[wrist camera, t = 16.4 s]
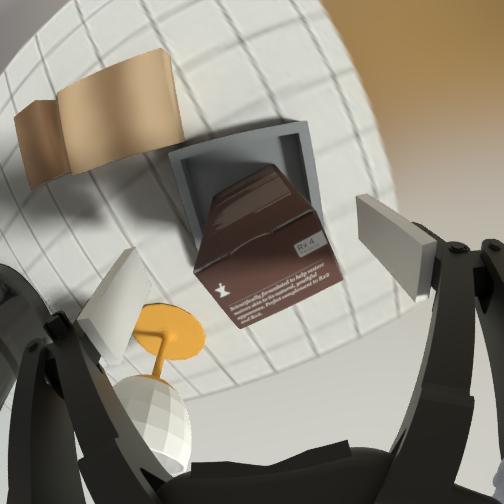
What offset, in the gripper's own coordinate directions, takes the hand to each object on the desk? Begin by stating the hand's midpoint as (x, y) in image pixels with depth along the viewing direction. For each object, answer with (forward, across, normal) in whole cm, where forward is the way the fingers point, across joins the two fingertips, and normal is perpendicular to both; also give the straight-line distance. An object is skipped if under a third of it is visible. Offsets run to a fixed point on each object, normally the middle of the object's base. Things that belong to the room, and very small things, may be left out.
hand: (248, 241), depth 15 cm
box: (+9, +1, 0) cm, 9 cm away
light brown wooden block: (+10, -8, +10) cm, 16 cm away
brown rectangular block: (+9, -15, +11) cm, 21 cm away
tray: (+9, +1, 0) cm, 9 cm away
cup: (+9, -12, -13) cm, 20 cm away
